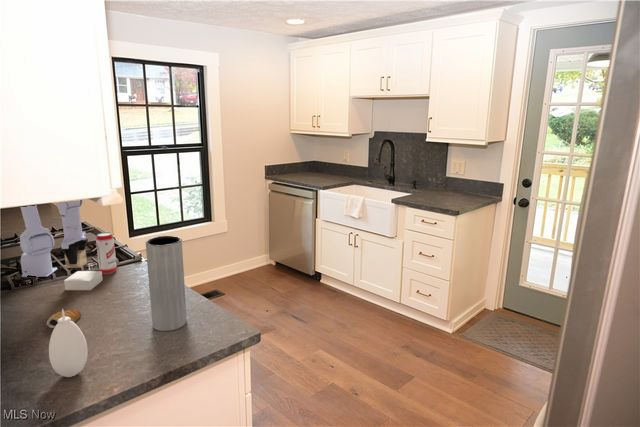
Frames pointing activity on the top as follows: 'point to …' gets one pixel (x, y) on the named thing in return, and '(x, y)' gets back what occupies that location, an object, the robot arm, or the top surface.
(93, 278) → the white block
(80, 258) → the maple cube
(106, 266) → the beer can
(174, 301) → the vase
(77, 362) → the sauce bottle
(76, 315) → the pastry
